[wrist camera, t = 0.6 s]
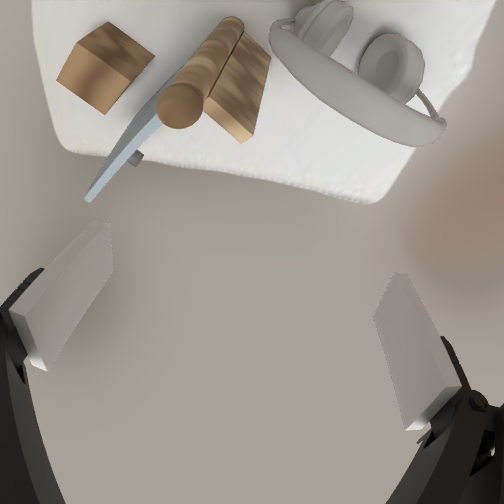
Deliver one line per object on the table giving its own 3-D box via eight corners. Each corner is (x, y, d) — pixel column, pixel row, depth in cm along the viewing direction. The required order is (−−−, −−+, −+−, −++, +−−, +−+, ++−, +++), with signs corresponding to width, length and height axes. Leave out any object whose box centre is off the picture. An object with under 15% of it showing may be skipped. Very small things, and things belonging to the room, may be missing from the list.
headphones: (263, 35, 32) (235, 115, 21) (292, -25, 25) (285, 5, 14) (391, 96, 36) (430, 204, 26) (427, 49, 29) (498, 141, 18)
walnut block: (85, 54, 35) (56, 80, 31) (108, 21, 30) (76, 42, 26) (129, 86, 40) (104, 115, 36) (155, 55, 36) (130, 81, 31)
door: (134, 116, 44) (82, 198, 35) (217, 33, 32) (169, 98, 23) (152, 130, 46) (107, 214, 37) (239, 53, 34) (205, 126, 25)
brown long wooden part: (212, 26, 32) (140, 118, 20) (232, 10, 30) (168, 88, 18) (257, 67, 36) (223, 182, 24) (277, 53, 34) (255, 163, 22)
